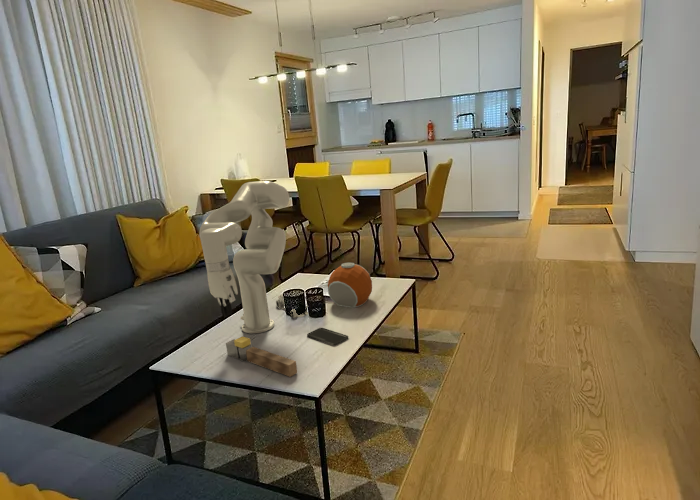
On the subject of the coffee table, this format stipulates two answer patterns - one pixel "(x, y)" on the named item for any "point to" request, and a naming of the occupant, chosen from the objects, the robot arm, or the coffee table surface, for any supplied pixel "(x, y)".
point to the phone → (327, 336)
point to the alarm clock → (349, 285)
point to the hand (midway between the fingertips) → (227, 314)
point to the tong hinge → (237, 351)
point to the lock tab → (242, 342)
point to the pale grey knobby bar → (281, 305)
